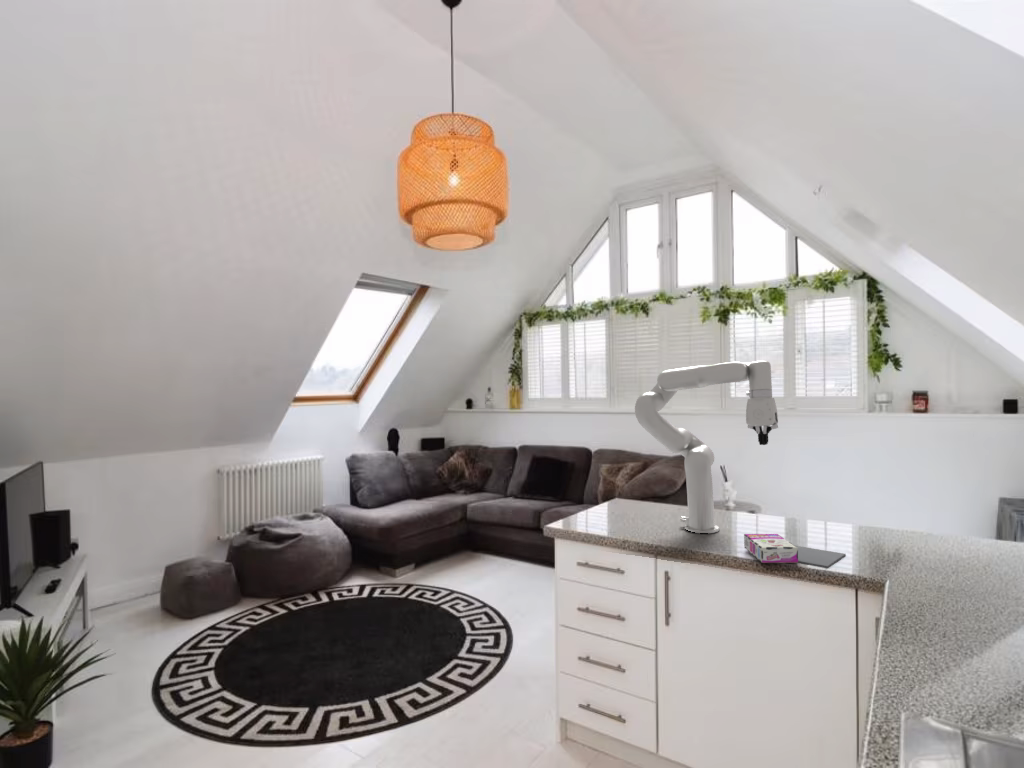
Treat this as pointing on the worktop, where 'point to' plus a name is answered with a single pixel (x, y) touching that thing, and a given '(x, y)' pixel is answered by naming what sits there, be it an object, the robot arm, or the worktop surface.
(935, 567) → the worktop surface
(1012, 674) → the worktop surface
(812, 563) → the mat
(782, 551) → the candy bar box
